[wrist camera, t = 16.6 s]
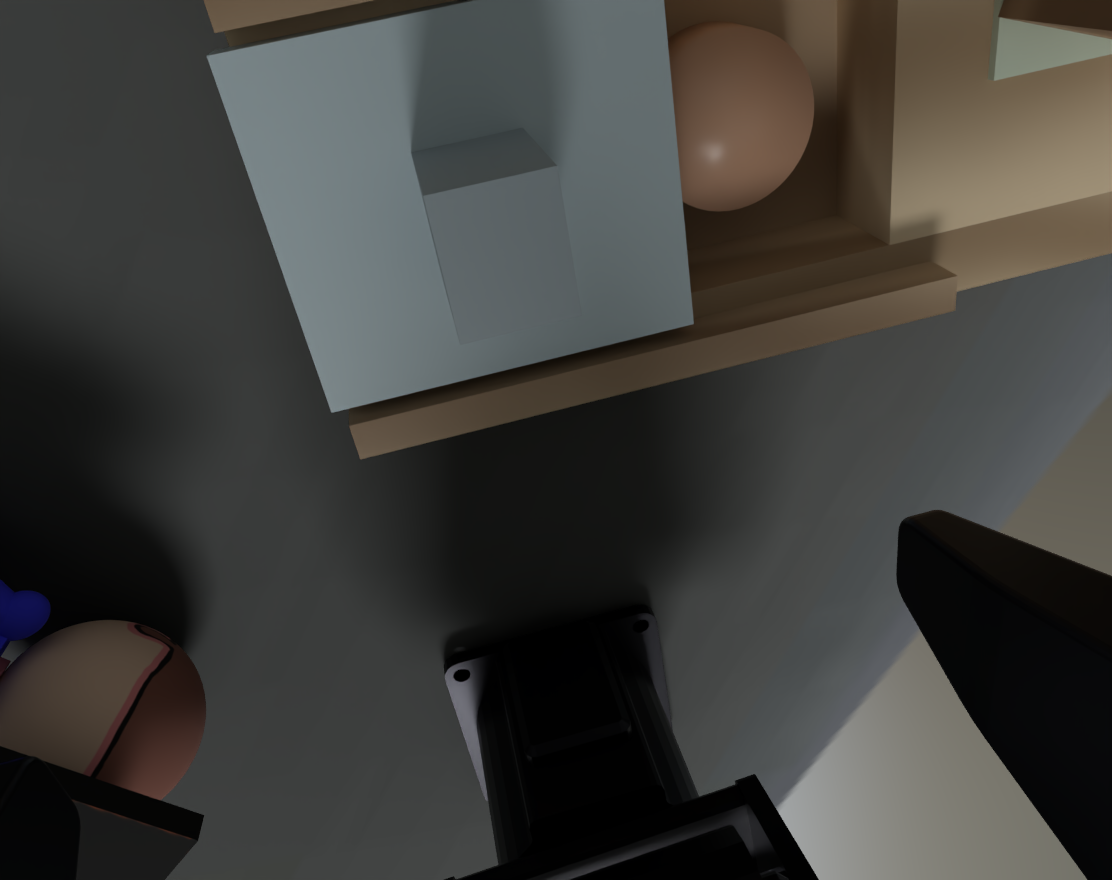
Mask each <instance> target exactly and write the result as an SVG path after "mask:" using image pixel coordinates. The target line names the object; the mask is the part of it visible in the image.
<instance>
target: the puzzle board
mask: <svg viewBox="0 0 1112 880" xmlns="http://www.w3.org/2000/svg"><path fill="white" fill-rule="evenodd" d="M450 1H455V0H204V3H205V6H206V9H207V11H208V14H209V17H210V20H211V23H212V26H213V29H214V32H215V33H217V32H222V31H224V32H225V35H226V38H227V41H228V44H229V47H232V46H237V45H242V44H247V43H252V42H256V41H261V40H266V39H271V38H276V37H281V36H286V35H290V34H295V33H300V32H305V31H310V30H315V29H319V28H324V27H329V26H334V25H339V24H344V23H348V22H353V21H358V20H363V19H368V18H373V17H378V16H382V15H387V14H392V13H397V12H402V11H407V10H411V9H416V8H421V7H426V6H431V5H436V4H441V3H445V2H450ZM1003 1H1004V0H664V6H665V17H666V28H667V39H668V38H669V37H671V36H672V35H674V34H675V33H677V32H678V31H681V30H683V29H685V28H687V27H689V26H692V25H695V24H698V23H703V22H709V21H724V22H731V23H736V24H740V25H744V26H749V27H753V28H757V29H761V30H764V31H767V32H770V33H772V34H774V35H776V36H778V37H779V38H781V39H782V40H783V41H785V42H786V43H787V44H788V45H790V46H791V47H792V48H793V49H794V50H795V52H796V53H797V54H798V56H799V57H800V58H801V60H802V62H803V63H804V65H805V67H806V69H807V72H808V74H809V77H810V80H811V84H812V89H813V95H814V118H813V125H812V130H811V133H810V137H809V140H808V143H807V146H806V148H805V151H804V153H803V155H802V157H801V159H800V160H799V162H798V164H797V165H796V167H795V168H794V170H793V171H792V172H791V174H790V175H789V176H788V177H787V179H786V180H785V181H784V182H783V183H782V184H781V185H780V186H779V187H778V188H777V189H775V190H774V191H773V192H771V193H770V194H769V195H768V196H766V197H764V198H763V199H761V200H760V201H758V202H756V203H753V204H751V205H749V206H746V207H743V208H740V209H736V210H731V211H719V212H717V211H707V210H703V209H698V208H696V207H693V206H690V205H688V204H686V203H685V202H683V212H684V223H685V233H686V244H687V255H688V266H689V277H690V288H691V298H692V309H693V320H694V324H692V325H688V326H684V327H680V328H676V329H672V330H668V331H663V332H659V333H655V334H651V335H647V336H643V337H639V338H635V339H631V340H627V341H623V342H619V343H614V344H610V345H606V346H602V347H598V348H594V349H590V350H586V351H582V352H578V353H574V354H570V355H566V356H561V357H557V358H553V359H549V360H545V361H541V362H537V363H533V364H529V365H525V366H521V367H517V368H513V369H508V370H504V371H500V372H496V373H492V374H488V375H484V376H480V377H476V378H472V379H468V380H464V381H460V382H455V383H451V384H447V385H443V386H439V387H435V388H431V389H427V390H423V391H419V392H415V393H411V394H406V395H402V396H398V397H394V398H390V399H386V400H382V401H378V402H374V403H370V404H366V405H362V406H358V407H353V408H349V428H350V431H351V433H352V436H353V439H354V442H355V445H356V448H357V451H358V454H359V457H360V460H361V459H365V458H369V457H373V456H377V455H381V454H385V453H389V452H393V451H397V450H401V449H405V448H409V447H413V446H417V445H421V444H425V443H429V442H432V441H436V440H440V439H444V438H448V437H452V436H456V435H460V434H464V433H468V432H472V431H476V430H480V429H484V428H488V427H492V426H496V425H500V424H504V423H508V422H512V421H516V420H520V419H524V418H528V417H532V416H536V415H540V414H544V413H548V412H552V411H556V410H560V409H564V408H568V407H572V406H576V405H580V404H584V403H588V402H592V401H596V400H600V399H604V398H608V397H612V396H616V395H620V394H624V393H628V392H632V391H636V390H640V389H644V388H648V387H652V386H656V385H660V384H664V383H668V382H672V381H676V380H680V379H684V378H688V377H692V376H696V375H700V374H704V373H708V372H712V371H716V370H720V369H724V368H728V367H732V366H736V365H740V364H744V363H748V362H752V361H756V360H760V359H764V358H768V357H772V356H776V355H780V354H784V353H788V352H792V351H796V350H800V349H804V348H808V347H812V346H816V345H820V344H824V343H828V342H832V341H836V340H840V339H843V338H847V337H851V336H855V335H859V334H863V333H867V332H871V331H875V330H879V329H883V328H887V327H891V326H895V325H899V324H903V323H907V322H911V321H915V320H919V319H923V318H927V317H931V316H935V315H939V314H943V313H947V312H951V311H955V305H956V293H957V291H961V290H965V289H969V288H973V287H977V286H981V285H985V284H989V283H993V282H997V281H1001V280H1005V279H1009V278H1013V277H1017V276H1021V275H1025V274H1029V273H1033V272H1037V271H1041V270H1045V269H1049V268H1054V267H1058V266H1062V265H1066V264H1070V263H1074V262H1078V261H1082V260H1086V259H1090V258H1094V257H1098V256H1102V255H1106V254H1110V253H1112V39H1108V38H1102V37H1097V36H1092V35H1087V34H1082V33H1077V32H1072V31H1067V30H1062V29H1057V28H1051V27H1046V26H1041V25H1036V24H1031V23H1026V22H1021V21H1016V20H1011V19H1006V18H1000V17H998V15H999V12H1000V9H1001V7H1002V4H1003Z"/></svg>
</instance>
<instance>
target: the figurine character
mask: <svg viewBox="0 0 1112 880" xmlns="http://www.w3.org/2000/svg"><path fill="white" fill-rule="evenodd" d="M49 615H50V603H49V601H48V599H47V598H46V597H45V596H44V595H42V594H41V593H38V592H35V591H28V590H27V591H18V592H14V591H12V590H11V589H10V588H9V587H8V586H7V585H6V584H5V583H4V582H3V581H2V580H1V579H0V764H1V763H4V762H8V761H12V760H15V759H19V758H23V757H26V756H35V757H38V758H39V759H41V760H43V761H44V763H45V764H46V765H47V766H48V768H49V769H50V770H51V772H52V773H53V775H54V776H55V777H56V779H57V780H58V781H59V783H60V784H61V786H62V787H63V788H64V790H65V791H66V792H67V794H68V795H69V796H70V798H71V799H72V801H73V802H74V804H75V805H76V807H77V810H78V813H79V817H80V825H81V831H80V843H79V854H78V865H77V876H76V880H165V879H166V877H167V876H168V875H169V874H170V873H171V872H172V870H173V869H174V868H175V867H176V866H177V865H178V863H179V862H180V861H181V860H182V859H183V858H184V856H185V855H186V854H187V853H188V852H189V851H190V849H191V848H192V847H193V846H194V845H195V844H196V842H197V841H198V838H199V834H200V830H201V826H202V822H203V818H204V815H202V814H199V813H196V812H193V811H190V810H187V809H184V808H181V807H178V806H175V805H172V804H169V803H166V802H163V801H161V799H162V798H164V797H165V796H166V795H167V794H168V793H169V792H170V791H171V790H172V789H173V788H174V787H175V786H176V784H177V783H178V782H179V781H180V779H181V778H182V777H183V776H184V774H185V773H186V771H187V770H188V768H189V766H190V765H191V763H192V761H193V759H194V757H195V755H196V753H197V751H198V748H199V745H200V742H201V739H202V735H203V732H204V726H205V719H206V701H205V693H204V689H203V684H202V681H201V679H200V676H199V674H198V671H197V669H196V667H195V665H194V664H193V662H192V661H191V659H190V658H189V656H188V655H187V654H186V653H185V652H184V650H183V649H182V648H181V647H180V646H179V645H177V644H176V643H175V642H174V641H173V640H171V639H170V638H169V637H167V636H166V635H164V634H162V633H161V632H159V631H157V630H155V629H152V628H150V627H147V626H144V625H141V624H138V623H134V622H128V621H121V620H98V621H91V622H85V623H80V624H76V625H73V626H69V627H67V628H64V629H61V630H59V631H57V632H55V633H52V634H50V635H48V636H47V637H45V638H43V639H41V640H40V641H38V642H37V643H35V644H34V645H32V646H31V647H30V648H28V649H27V650H26V651H25V652H24V653H22V654H21V655H20V656H19V657H18V658H17V659H16V660H15V661H14V662H13V663H12V664H11V665H10V666H9V667H8V665H9V663H10V661H9V660H7V659H4V658H2V657H1V655H2V654H3V652H4V650H5V649H6V647H7V646H8V644H9V642H10V641H15V640H20V639H24V638H27V637H29V636H31V635H33V634H34V633H36V632H37V631H38V630H40V629H41V628H42V627H43V626H44V624H45V623H46V622H47V620H48V618H49ZM7 667H8V668H7ZM6 668H7V670H6ZM5 670H6V671H5ZM4 671H5V672H4Z"/></svg>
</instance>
